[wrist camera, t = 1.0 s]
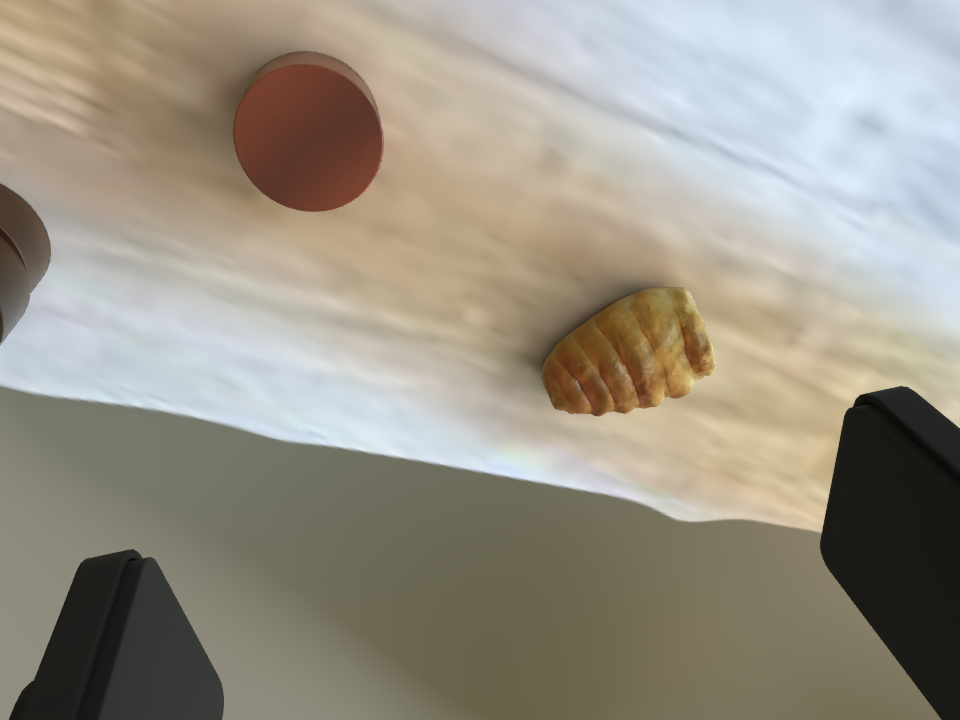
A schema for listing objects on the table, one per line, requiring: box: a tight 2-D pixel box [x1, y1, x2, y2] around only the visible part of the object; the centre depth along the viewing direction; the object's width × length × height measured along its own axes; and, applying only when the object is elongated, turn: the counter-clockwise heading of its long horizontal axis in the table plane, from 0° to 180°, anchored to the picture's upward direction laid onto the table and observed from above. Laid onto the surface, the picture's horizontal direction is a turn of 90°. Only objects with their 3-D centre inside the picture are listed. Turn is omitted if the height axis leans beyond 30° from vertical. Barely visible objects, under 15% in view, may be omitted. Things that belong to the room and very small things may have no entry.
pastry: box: [541, 287, 715, 416], centre depth 40 cm, size 9×7×4 cm
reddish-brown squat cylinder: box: [233, 51, 384, 212], centre depth 31 cm, size 6×6×3 cm
